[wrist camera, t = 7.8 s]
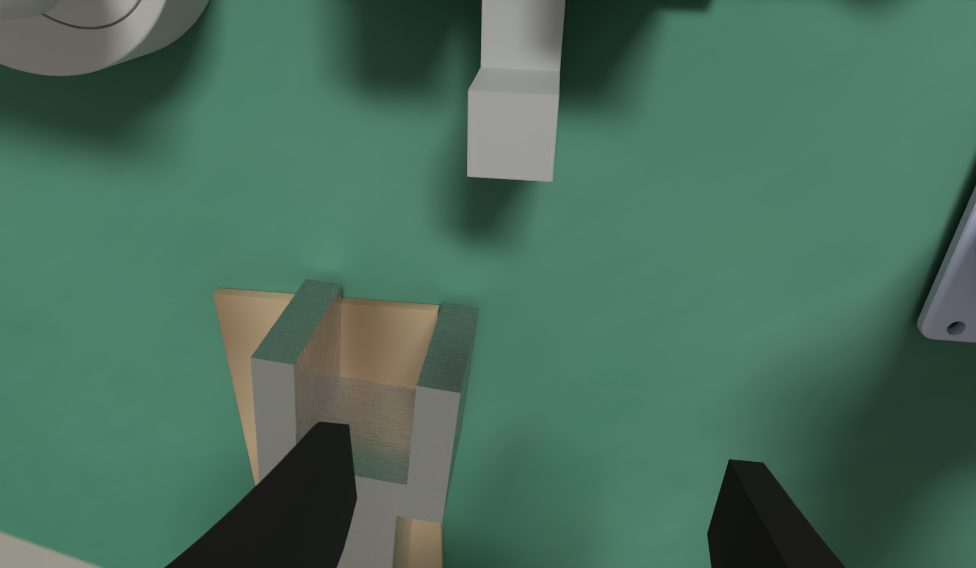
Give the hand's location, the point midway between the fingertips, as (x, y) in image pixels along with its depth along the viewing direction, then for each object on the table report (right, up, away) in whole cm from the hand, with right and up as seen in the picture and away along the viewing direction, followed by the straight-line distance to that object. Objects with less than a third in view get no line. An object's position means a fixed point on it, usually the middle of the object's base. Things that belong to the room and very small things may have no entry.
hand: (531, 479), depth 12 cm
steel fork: (-5, -3, +13) cm, 14 cm away
